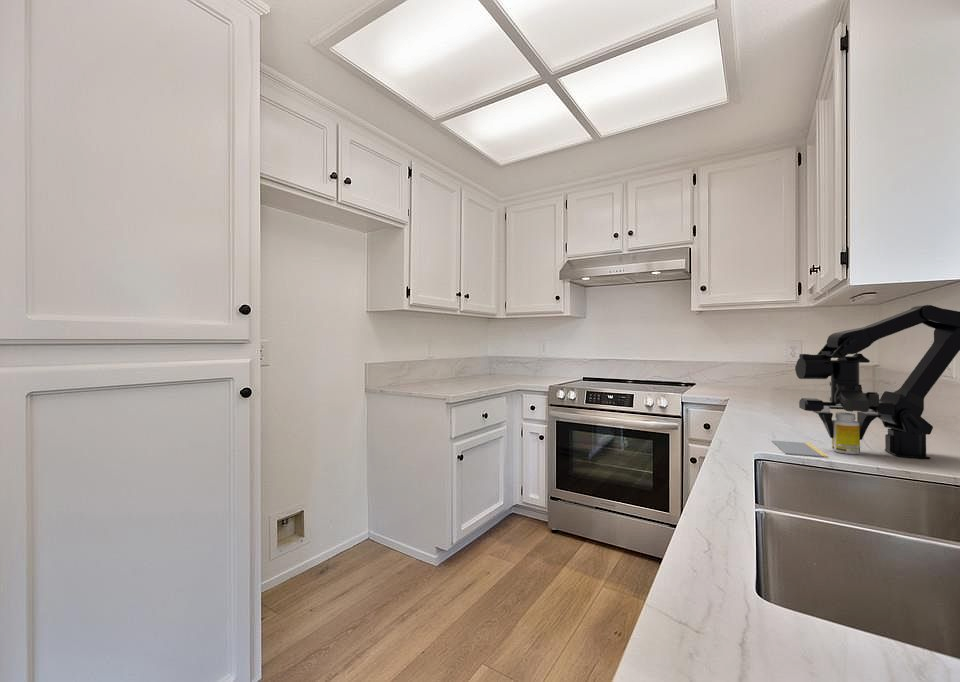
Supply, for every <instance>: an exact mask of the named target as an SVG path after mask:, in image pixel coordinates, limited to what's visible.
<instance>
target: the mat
mask: <svg viewBox="0 0 960 682" xmlns="http://www.w3.org/2000/svg"><path fill="white" fill-rule="evenodd" d="M771 443H772V444H774V445H775V446H776V447H777V448H778V449H780V450H781V452H782V453H784V455H791V456H803V457H817V458H828V457H829V456H828V454H826V453H824V452H823V451H821V450H820V449H818V448H817V447H816V446H814V445H813V444H811V443H810V442H807V441H806V442H798V441H797V442H796V441H787V440H786V441H784V440H783V441H782V440H771Z"/></svg>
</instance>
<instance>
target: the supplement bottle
mask: <svg viewBox="0 0 960 682" xmlns="http://www.w3.org/2000/svg"><path fill="white" fill-rule="evenodd" d="M834 417H835V418H834V419H832V424H833V438H831V448H832V450H833V451H834V452H835V453H839V454H845V455H858V454H860V452H861V442H860V441H861V440H860V425H859V422H857V420H856V419H857V417H856V414H855V413H852V412H842V411H841V412H840V411H837V412H835V416H834Z"/></svg>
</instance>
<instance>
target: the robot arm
mask: <svg viewBox="0 0 960 682" xmlns="http://www.w3.org/2000/svg"><path fill="white" fill-rule="evenodd" d="M920 324H922V325H924V326H926V327H929V328H931V329H934V331H933V343H932V344H931V346H930V347H929V348H928V350H927V351H925V352H926V353H925V354H924V355H923V357H922V358H921V359H920V360H919V362H918V363H917V364H916V366H915V367H914V369H913V370H912V371H911V373H910V374H909V375H908V377H907V378H906V380H905V381H904V382H903V384H902V385H901V386H900V387H899V388H898V390H895V391H889V390H888V391H887V390H886V391H884V392H883V393H882V395H881V397H880V394H879V393H878V392H876V391H875V392H874V391H872V392H871V391H866V392H863V387H862V384H861V382H860V363H861V364H863V363H867V364H868V363H870V361H871V360H870V359H869V358H867V357H865V356H864V355H863V353H860V352H862V351H864V350H865V349H867V348H869V347H870V346H871V345H873V343H875V342H876V341H878V340H880V339H883V338H886V337H888V336H891V335H894V334H896V333H899V332H901V331H904V330H908V329H910V328H913V327H915V326H918V325H920ZM959 352H960V311H958V310H953V309H948V308H942V307H938V306H934V305H932V304H925V305H924V304H923V305H915V306H913V307H911V308H910V309H907V310H905V311H902V312H900V313H897V314H895V315H892V316H889V317H886V318H883V319H881V320H879V321H876V322H874V323H871V324H868V325H866V326H862V327H857V328H852V329H846V330H842V331H837V332H834V333H831V334H830V335H829V336H828V337H827V340H826V343H825V345H824V346H823V347H822V348H821V349H820V350H819V352H817V354H809V353H799V354H798V355H799V358H798V359H797V361H796V365H794V368H795V374H796V376H797V379H800V380H827V379H828V378H829V377H830V381H829V387H830V397H829V401H823V399H818V398H814V397H813V398H811V397H801V399H799V402H798V403H799V404H798V406H799V407H798V408H799V409H801V410H803V411H806V412H813V413H815V414H817V415H818V416H819V418H820V420H821V421H822V423H823V425H824V428H825V430H826V431H827V434H828V436H829V438H830V439H832V438H833V424H832V420H833V415H834V413H832V412H831V411H830V410H844V411H846V412H850V413H852V412H857V413H856V419H857V420H856V421H857V422H859V425H860V441H862V440H863V438H864V435H865V434H866V432H867V430H868V428H869V426H870V424H871V423H872V422H873V420H875V419H877V418H878V419H880V421H881V422H882V424H883V427H884V428H887V434H885V435H884V438H885V441H884V443H885V448H884V451H885V452H888V453H889V454H891V455H893V456H895V457H903V458H916V459H918V458H919V459H931V456H929V455H927V435H931V433H932V431H933V429H934V426H933V425H932V424H930V423H929V422H928V421H927V420H926V419H925V418H923V417H922V415H923V414H924V413H923V412H924V410H925V398H926V396H927V394H929V392H930V391H931V389H932V388H933V387H934V385H936V383H937V381H938V380H939V379H940V378H941V376H942V375H943V374H944V372H945V371H946V369H947V368H948V367H949V365H950V364H951V363H952V361H954V359H955V357H956V356H957V355H958V353H959ZM849 355H850V356H849Z"/></svg>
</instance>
